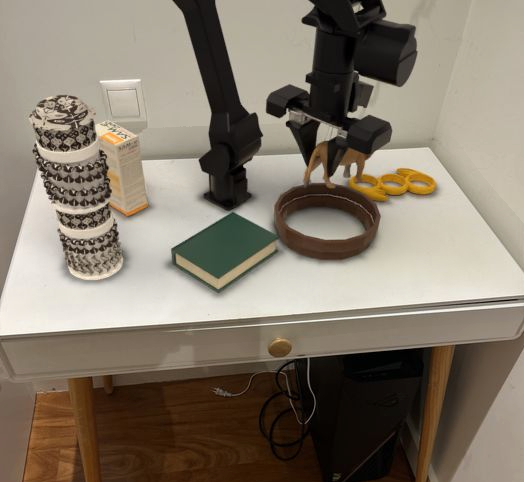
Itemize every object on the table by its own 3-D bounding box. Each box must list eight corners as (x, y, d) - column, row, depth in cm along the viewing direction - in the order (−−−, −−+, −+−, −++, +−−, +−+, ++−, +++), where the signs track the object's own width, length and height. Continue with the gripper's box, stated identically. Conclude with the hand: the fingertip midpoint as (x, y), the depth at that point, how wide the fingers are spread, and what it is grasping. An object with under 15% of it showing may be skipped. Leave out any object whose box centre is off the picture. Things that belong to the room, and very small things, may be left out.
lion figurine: (355, 169, 96) (363, 113, 91) (379, 178, 93) (389, 121, 87) (292, 186, 88) (297, 126, 83) (316, 196, 85) (323, 134, 79)
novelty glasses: (442, 201, 104) (426, 173, 111) (444, 194, 103) (428, 166, 110) (353, 203, 103) (343, 174, 109) (355, 195, 101) (344, 167, 108)
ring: (252, 231, 95) (253, 211, 92) (314, 191, 105) (317, 172, 102) (336, 276, 88) (339, 256, 85) (394, 229, 97) (399, 209, 94)
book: (172, 264, 89) (170, 248, 87) (232, 226, 96) (232, 211, 94) (218, 293, 84) (218, 277, 82) (278, 251, 92) (279, 236, 90)
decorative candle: (55, 258, 89) (8, 98, 70) (108, 238, 93) (77, 82, 74) (80, 289, 84) (37, 127, 66) (136, 267, 88) (110, 107, 70)
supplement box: (149, 206, 99) (140, 135, 90) (127, 217, 97) (115, 145, 87) (120, 188, 103) (109, 118, 94) (98, 198, 101) (84, 127, 91)
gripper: (424, 69, 76) (398, 174, 88) (313, 33, 84) (303, 134, 95) (380, 94, 70) (359, 203, 82) (265, 52, 78) (261, 157, 89)
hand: (320, 171), depth 87 cm, fingers closed on lion figurine, 4 cm apart
